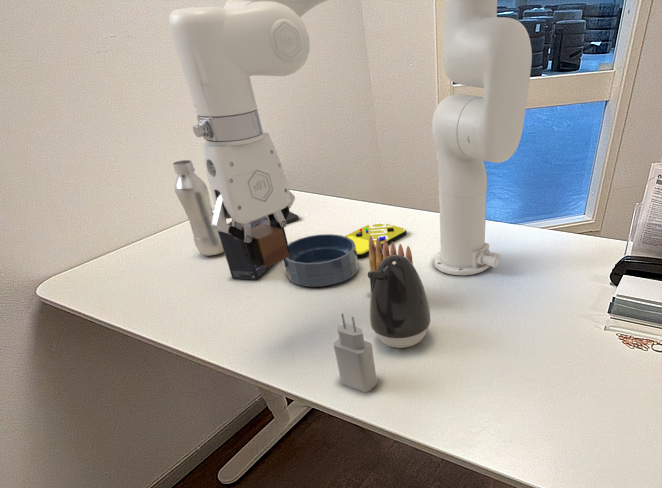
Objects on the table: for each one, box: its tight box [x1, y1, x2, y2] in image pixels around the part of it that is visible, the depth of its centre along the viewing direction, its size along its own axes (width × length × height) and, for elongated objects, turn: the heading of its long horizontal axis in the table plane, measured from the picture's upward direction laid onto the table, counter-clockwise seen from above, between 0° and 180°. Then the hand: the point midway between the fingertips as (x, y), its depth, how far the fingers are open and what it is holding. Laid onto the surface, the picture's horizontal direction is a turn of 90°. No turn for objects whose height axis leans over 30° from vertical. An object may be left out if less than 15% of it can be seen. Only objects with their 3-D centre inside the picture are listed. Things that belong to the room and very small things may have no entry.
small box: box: [218, 216, 274, 281], centre depth 103 cm, size 11×6×10 cm, turn 168°
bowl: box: [282, 233, 360, 288], centre depth 102 cm, size 15×15×6 cm
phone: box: [286, 211, 299, 224], centre depth 131 cm, size 7×1×15 cm
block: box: [251, 224, 289, 267], centre depth 74 cm, size 4×4×4 cm
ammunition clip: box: [368, 236, 414, 292], centre depth 90 cm, size 11×2×12 cm, turn 54°
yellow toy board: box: [344, 222, 407, 260], centre depth 116 cm, size 18×11×2 cm, turn 146°
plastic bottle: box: [172, 159, 224, 257], centre depth 107 cm, size 6×7×20 cm
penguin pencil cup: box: [367, 254, 432, 349], centre depth 78 cm, size 10×10×15 cm
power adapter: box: [332, 313, 378, 393], centre depth 71 cm, size 3×5×12 cm, turn 60°
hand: (268, 256), depth 75 cm, fingers closed on block, 4 cm apart
